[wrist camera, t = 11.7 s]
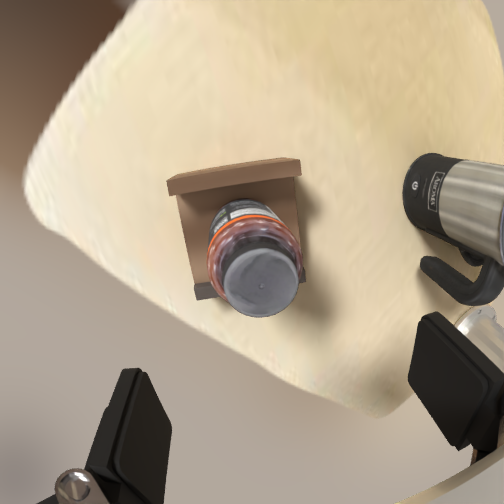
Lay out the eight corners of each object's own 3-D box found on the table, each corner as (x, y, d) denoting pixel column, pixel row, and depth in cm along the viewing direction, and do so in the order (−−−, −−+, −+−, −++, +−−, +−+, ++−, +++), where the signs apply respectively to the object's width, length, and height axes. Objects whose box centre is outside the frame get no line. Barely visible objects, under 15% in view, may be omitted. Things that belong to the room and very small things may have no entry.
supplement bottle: (267, 269, 28) (295, 342, 17) (202, 254, 27) (193, 324, 16) (287, 206, 26) (332, 247, 15) (219, 188, 25) (218, 218, 14)
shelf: (296, 270, 31) (312, 296, 26) (200, 286, 31) (196, 316, 25) (283, 157, 27) (300, 159, 22) (177, 174, 27) (166, 180, 21)
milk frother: (399, 151, 28) (504, 165, 14) (487, 152, 29) (574, 169, 15) (399, 273, 33) (478, 340, 19) (482, 252, 34) (556, 295, 20)
